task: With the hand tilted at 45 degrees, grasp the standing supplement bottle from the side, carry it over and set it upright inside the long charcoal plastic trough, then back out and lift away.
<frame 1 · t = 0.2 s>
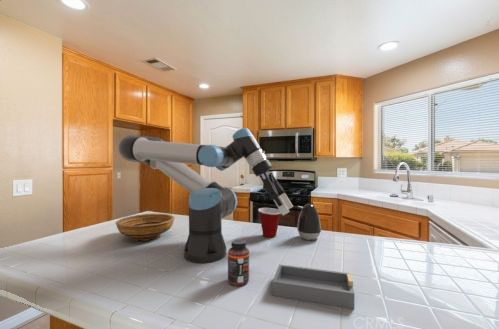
hand: (288, 210, 90), 15 cm above the countertop, tool tilted 35°, fingers open, 13 cm apart
brown woven oval bowl: (146, 237, 107), on the countertop
pump dispenser: (308, 238, 105), on the countertop
plastic cup: (270, 236, 108), on the countertop
trough: (312, 290, 62), on the countertop
supplement bottle: (238, 282, 67), on the countertop
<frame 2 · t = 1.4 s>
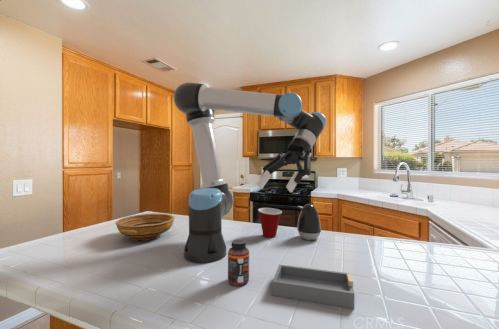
hand: (273, 188, 79), 25 cm above the countertop, tool tilted 45°, fingers open, 13 cm apart
nothing on the countertop moved.
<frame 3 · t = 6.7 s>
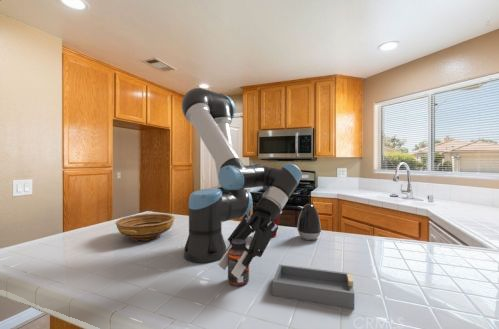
hand: (227, 271, 65), 4 cm above the countertop, tool tilted 45°, fingers closed on supplement bottle, 6 cm apart
supplement bottle: (238, 282, 67), on the countertop, touching gripper
everything else where it was.
when the fingers open (6 cm above the countertop, at t = 12.5 s): supplement bottle drops 1 cm, resting on trough.
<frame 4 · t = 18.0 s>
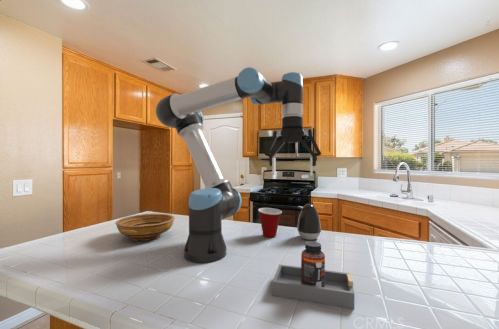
hand: (292, 175, 87), 29 cm above the countertop, tool pointing down, fingers open, 13 cm apart
supplement bottle: (312, 287, 62), point 1 cm above the countertop, touching trough
everything else where it was.
at the end: supplement bottle inside the target area on the trough (0.1 cm from its centre), point 0.8 cm above the trough's base; supplement bottle tilted 0°; the gripper is holding nothing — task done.
